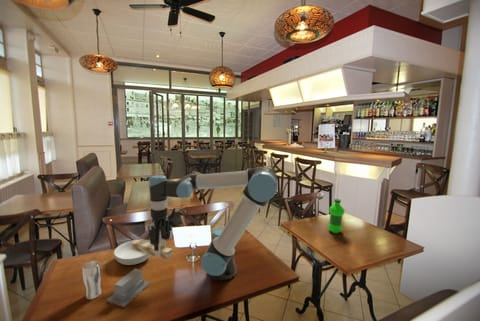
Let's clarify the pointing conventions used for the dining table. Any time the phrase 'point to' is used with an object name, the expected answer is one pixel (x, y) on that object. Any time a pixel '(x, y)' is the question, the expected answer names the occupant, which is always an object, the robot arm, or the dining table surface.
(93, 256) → the dining table surface
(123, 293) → the slate ridge
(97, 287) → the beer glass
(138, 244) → the beech bar
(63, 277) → the dining table surface
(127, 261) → the serving bowl
